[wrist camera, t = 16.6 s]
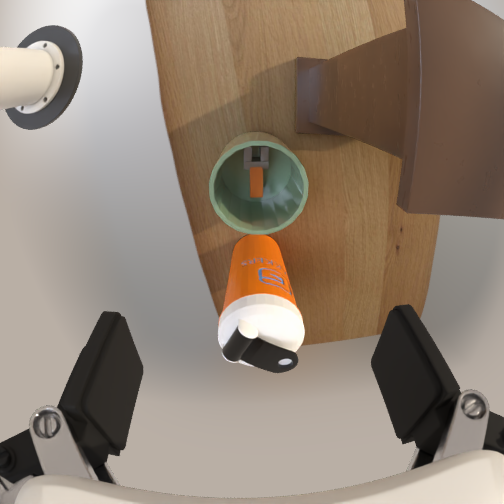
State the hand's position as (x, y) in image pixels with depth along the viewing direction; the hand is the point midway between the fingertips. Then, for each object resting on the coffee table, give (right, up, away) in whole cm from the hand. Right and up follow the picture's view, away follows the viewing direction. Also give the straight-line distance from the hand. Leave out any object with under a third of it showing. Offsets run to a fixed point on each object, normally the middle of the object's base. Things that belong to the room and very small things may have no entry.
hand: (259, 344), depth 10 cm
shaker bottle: (0, +3, +35) cm, 35 cm away
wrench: (0, +14, +28) cm, 31 cm away
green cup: (0, +14, +28) cm, 32 cm away
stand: (+10, +23, +23) cm, 34 cm away
